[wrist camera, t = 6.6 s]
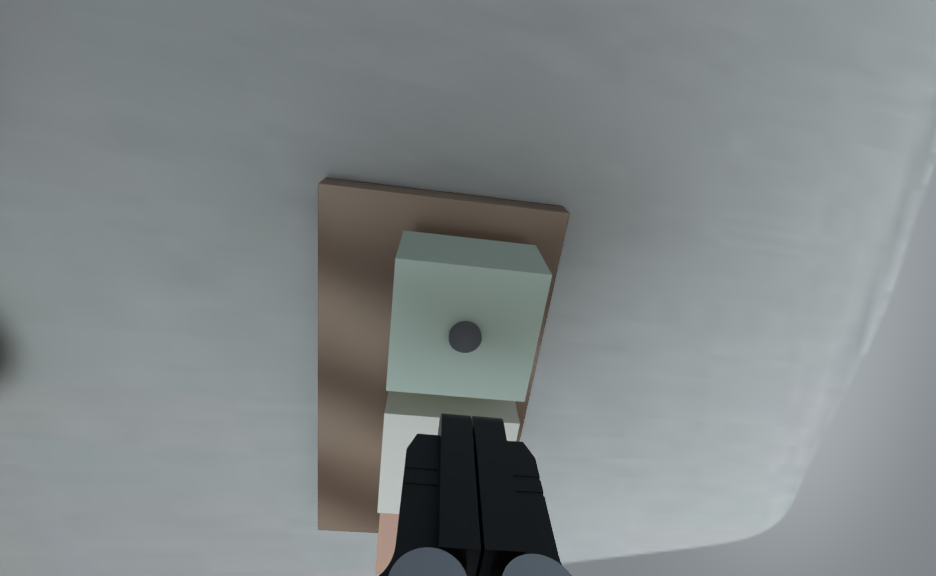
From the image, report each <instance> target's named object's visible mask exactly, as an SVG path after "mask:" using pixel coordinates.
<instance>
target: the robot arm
mask: <svg viewBox="0 0 936 576" xmlns="http://www.w3.org/2000/svg"><path fill="white" fill-rule="evenodd" d="M539 478H540V477H539V472H538V468H537V464H536V460H535V458H534V456H533V455H532V454H531V452H530V451H529V450H528V448H527V447H526V446H525V444H524V443H523V442H516V441H507V439H506V433H505V427H504V421H503V419H502V418H492V417H480V416H472V419H471V416H467V415H456V414H444V413H441V415H440V421H439V428H438V435H429V434H417V435H416V436H415V438H414V439H413V440H412V442H411V443H410V445H409V446H408V447H407V450H406V459H405V467H404V476H403V485H402V493H401V502H400V511H399V519H398V528H397V537H396V545H395V551H394V554H393V557H392V559H391V561H390V563H389V565H388V566H387V568H386V569H385V570H384V571H383V572H382V573H381V574H380V575H379V576H572V575H571V574H570V573H569V572H568V571H567V570H566V569H565V568H564V567H563V566H562V564H561V562H560V559H559V556H558V552H557V547H556V543H555V539H554V535H553V531H552V527H551V522H550V518H549V514H548V510H547V506H546V502H545V497H544V496H543V489H542V485H541V481H540V480H539Z"/></svg>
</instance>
